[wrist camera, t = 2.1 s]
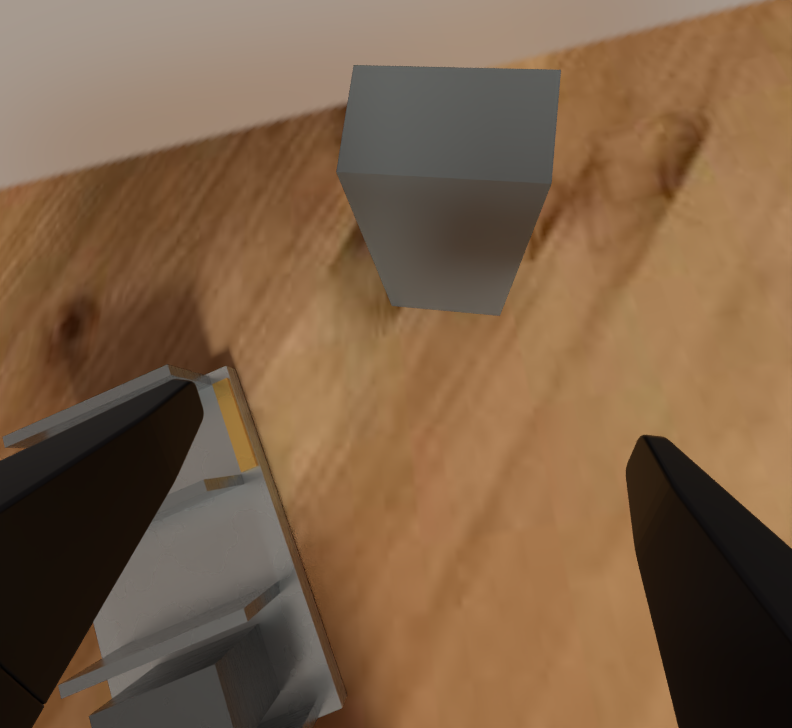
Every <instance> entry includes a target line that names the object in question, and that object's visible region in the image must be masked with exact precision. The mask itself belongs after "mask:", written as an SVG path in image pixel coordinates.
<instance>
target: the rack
mask: <svg viewBox="0 0 792 728" xmlns="http://www.w3.org/2000/svg"><path fill="white" fill-rule="evenodd" d="M172 379H182V380H190V381H193V382H194V383H195V384H196V387H197V390H198V393H199V396H200V400H201V403H202V406H203V410H204V417H203V420H202V423H201V425H200V428H199V430H198V432H197V434H196V436H195V439H194V441H193V443H192V445H191V448H190V450H189V452H188V454H187V457H186V459H185V461H184V463H183V465H182V468H181V470H180V472H179V474H178V476H177V478H176V480H175V482H174V484H173V486H172V488H171V489H170V491H169V493H168V495H167V496H166V498H165V500H164V502H163V503H162V505H161V507H160V508H159V510H158V512H157V514H156V515H155V517H154V519H153V520H152V522H151V524H150V526H149V527H148V529H147V531H146V532H145V534H144V536H143V538H142V539H141V541H140V543H139V544H138V546H137V548H136V550H135V551H134V553H133V555H132V556H131V558H130V560H129V562H128V563H127V565H126V567H125V568H124V570H123V572H122V574H121V575H120V577H119V579H118V580H117V582H116V584H115V586H114V587H113V589H112V591H111V592H110V594H109V596H108V598H107V599H106V601H105V603H104V604H103V606H102V608H101V610H100V611H99V613H98V615H97V616H96V618H95V620H94V622H93V623H94V627H95V631H96V635H97V639H98V643H99V647H100V651H101V655H102V659H100V660H99V661H97V662H95V663H94V664H92V665H91V666H89V667H87V668H86V669H84V670H82V671H81V672H79V673H78V674H76V675H74V676H73V677H71V678H69V679H68V680H66V681H65V682H63V683H61V684H60V685H58V686H59V691H60V695H61V699H62V698H64V697H67V696H69V695H72V694H74V693H76V692H79V691H81V690H84V689H86V688H89V687H91V686H93V685H96V684H98V683H101V682H103V681H105V680H108V684H109V688H110V692H111V696H112V699H111V700H110V701H108V702H107V703H106V704H104V705H103V706H102V707H100V708H99V709H98V710H96V711H95V712H94V713H92V714H91V715H90V716H89V718H90V722H91V727H92V728H313V727H314V724H315V722H316V720H317V718H319V717H322V716H324V715H327V714H329V713H332V712H334V711H337V710H339V709H341V708H343V705H344V703H345V700H346V698H347V693H346V691H345V688H344V685H343V682H342V679H341V676H340V673H339V670H338V667H337V664H336V661H335V659H334V656H333V653H332V650H331V647H330V644H329V641H328V638H327V635H326V632H325V629H324V627H323V624H322V621H321V618H320V615H319V612H318V609H317V606H316V603H315V600H314V597H313V594H312V592H311V589H310V586H309V583H308V580H307V577H306V574H305V571H304V568H303V565H302V562H301V560H300V557H299V554H298V551H297V548H296V545H295V542H294V539H293V536H292V533H291V530H290V528H289V525H288V522H287V519H286V516H285V513H284V510H283V507H282V504H281V501H280V498H279V495H278V493H277V490H276V487H275V484H274V481H273V478H272V475H271V472H270V469H269V466H268V463H267V461H266V458H265V455H264V452H263V449H262V446H261V443H260V440H259V437H258V434H257V431H256V429H255V426H254V423H253V420H252V417H251V414H250V411H249V408H248V405H247V402H246V399H245V396H244V394H243V391H242V388H241V385H240V382H239V379H238V376H237V373H236V370H235V369H234V368H231V367H228V366H224V367H222V368H220V369H217V370H215V371H213V372H210V373H208V374H206V375H203V374H199V373H196V372H192V371H189V370H185V369H182V368H178V367H175V366H171V365H168V364H167V365H165V366H163V367H160V368H158V369H156V370H154V371H151V372H149V373H147V374H145V375H142V376H140V377H138V378H135V379H133V380H131V381H129V382H126V383H124V384H122V385H120V386H117V387H115V388H113V389H110V390H108V391H106V392H104V393H101V394H99V395H97V396H95V397H92V398H90V399H88V400H85V401H83V402H81V403H79V404H76V405H74V406H72V407H70V408H67V409H65V410H63V411H60V412H58V413H56V414H54V415H51V416H49V417H47V418H44V419H42V420H40V421H38V422H35V423H33V424H31V425H29V426H26V427H24V428H22V429H19V430H17V431H15V432H13V433H10V434H8V435H6V436H4V437H3V441H4V445H5V448H28V447H30V446H33V445H35V444H37V443H39V442H41V441H43V440H45V439H47V438H50V437H52V436H54V435H56V434H58V433H60V432H62V431H64V430H66V429H69V428H71V427H73V426H75V425H77V424H79V423H81V422H83V421H85V420H88V419H90V418H92V417H94V416H96V415H98V414H100V413H102V412H104V411H107V410H109V409H111V408H113V407H115V406H117V405H119V404H121V403H124V402H126V401H128V400H130V399H132V398H134V397H136V396H138V395H140V394H143V393H145V392H147V391H149V390H151V389H153V388H155V387H157V386H159V385H162V384H164V383H166V382H168V381H170V380H172Z"/></svg>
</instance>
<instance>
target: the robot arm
mask: <svg viewBox="0 0 792 728" xmlns="http://www.w3.org/2000/svg"><path fill="white" fill-rule="evenodd" d="M203 417H204V410H203V406H202V403H201V400H200V396H199V393H198V390H197V387H196V384H195V383H194V382H193V381H190V380H182V379H172V380H170V381H168V382H166V383H164V384H162V385H159V386H157V387H155V388H153V389H151V390H149V391H147V392H145V393H143V394H140V395H138V396H136V397H134V398H132V399H130V400H128V401H126V402H124V403H121V404H119V405H117V406H115V407H113V408H111V409H109V410H107V411H104V412H102V413H100V414H98V415H96V416H94V417H92V418H90V419H88V420H85V421H83V422H81V423H79V424H77V425H75V426H73V427H71V428H69V429H66V430H64V431H62V432H60V433H58V434H56V435H54V436H52V437H50V438H47V439H45V440H43V441H41V442H39V443H37V444H35V445H33V446H30V447H28V448H26V449H24V450H22V451H20V452H18V453H16V454H14V455H11V456H9V457H7V458H5V459H3V460H1V461H0V728H32V727H33V725H34V723H35V722H36V720H37V718H38V716H39V715H40V713H41V711H42V710H43V708H44V705H43V704H45V703H46V702H47V700H48V699H49V697H50V695H51V694H52V692H53V690H54V688H55V687H56V685H57V683H58V682H59V680H60V678H61V676H62V675H63V673H64V671H65V670H66V668H67V666H68V664H69V663H70V661H71V659H72V658H73V656H74V654H75V652H76V651H77V649H78V647H79V646H80V644H81V642H82V640H83V639H84V637H85V635H86V634H87V632H88V630H89V628H90V627H91V625H92V623H93V622H94V620H95V618H96V616H97V615H98V613H99V611H100V610H101V608H102V606H103V604H104V603H105V601H106V599H107V598H108V596H109V594H110V592H111V591H112V589H113V587H114V586H115V584H116V582H117V580H118V579H119V577H120V575H121V574H122V572H123V570H124V568H125V567H126V565H127V563H128V562H129V560H130V558H131V556H132V555H133V553H134V551H135V550H136V548H137V546H138V544H139V543H140V541H141V539H142V538H143V536H144V534H145V532H146V531H147V529H148V527H149V526H150V524H151V522H152V520H153V519H154V517H155V515H156V514H157V512H158V510H159V508H160V507H161V505H162V503H163V502H164V500H165V498H166V496H167V495H168V493H169V491H170V489H171V488H172V486H173V484H174V482H175V480H176V478H177V476H178V474H179V472H180V470H181V468H182V465H183V463H184V461H185V459H186V457H187V454H188V452H189V450H190V448H191V445H192V443H193V441H194V439H195V436H196V434H197V432H198V430H199V428H200V425H201V423H202V420H203ZM626 482H627V490H628V498H629V507H630V515H631V523H632V531H633V539H634V546H635V552H636V557H637V561H638V566H639V570H640V574H641V578H642V582H643V586H644V590H645V594H646V598H647V602H648V606H649V610H650V614H651V618H652V622H653V626H654V630H655V634H656V638H657V642H658V646H659V651H660V655H661V659H662V663H663V667H664V671H665V675H666V679H667V683H668V687H669V691H670V695H671V699H672V703H673V707H674V711H675V715H676V719H677V723H678V727H679V728H792V549H791V548H790V547H789V546H788V545H787V544H786V543H785V542H784V541H782V540H781V539H780V538H779V537H778V536H777V535H776V534H775V533H773V532H772V531H771V530H770V529H769V528H768V527H767V526H765V525H764V524H763V523H762V522H761V521H760V520H759V519H758V518H756V517H755V516H754V515H753V514H752V513H751V512H750V511H749V510H747V509H746V508H745V507H744V506H743V505H742V504H741V503H739V502H738V501H737V500H736V499H735V498H734V497H733V496H732V495H730V494H729V493H728V492H727V491H726V490H725V489H724V488H723V487H721V486H720V485H719V484H718V483H717V482H716V481H715V480H714V479H712V478H711V477H710V476H709V475H708V474H707V473H706V472H704V471H703V470H702V469H701V468H700V467H699V466H698V465H697V464H695V463H694V462H693V461H692V460H691V459H690V458H689V457H688V456H686V455H685V454H684V453H683V452H682V451H681V450H680V449H678V448H677V447H676V446H675V445H674V444H673V443H672V442H671V441H669V440H668V439H667V438H665V437H661V436H653V435H642V436H640V437H639V439H638V440H637V443H636V445H635V447H634V449H633V452H632V454H631V456H630V459H629V461H628V463H627V467H626Z"/></svg>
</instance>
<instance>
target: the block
mask: <svg viewBox="0 0 792 728" xmlns="http://www.w3.org/2000/svg"><path fill="white" fill-rule="evenodd" d="M560 74H561V70H542V69H499V68H455V67H411V66H410V67H409V66H367V65H366V66H365V65H354V67H353V73H352V79H351V85H350V91H349V97H348V103H347V110H346V116H345V122H344V128H343V134H342V140H341V147H340V153H339V159H338V165H337V171H336V172H337V175H338V177H339V179H340V182H341V184H342V187H343V189H344V192H345V194H346V196H347V199H348V201H349V204H350V206H351V208H352V211H353V213H354V216H355V218H356V220H357V223H358V225H359V228H360V230H361V232H362V235H363V237H364V240H365V242H366V244H367V247H368V249H369V252H370V254H371V256H372V259H373V261H374V264H375V266H376V268H377V271H378V273H379V276H380V278H381V280H382V283H383V285H384V288H385V290H386V293H387V295H388V297H389V300H390V302H391V305H392V306H400V307H411V308H422V309H433V310H443V311H454V312H465V313H476V314H486V315H497V316H500V314H501V311H502V309H503V306H504V304H505V301H506V299H507V296H508V294H509V291H510V288H511V286H512V283H513V281H514V278H515V276H516V273H517V270H518V268H519V265H520V263H521V260H522V258H523V255H524V253H525V250H526V247H527V245H528V242H529V240H530V237H531V235H532V232H533V230H534V227H535V224H536V222H537V219H538V217H539V214H540V212H541V209H542V206H543V204H544V201H545V199H546V196H547V194H548V191H549V189H550V186H551V182H552V170H553V158H554V146H555V134H556V122H557V110H558V98H559V86H560Z"/></svg>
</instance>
